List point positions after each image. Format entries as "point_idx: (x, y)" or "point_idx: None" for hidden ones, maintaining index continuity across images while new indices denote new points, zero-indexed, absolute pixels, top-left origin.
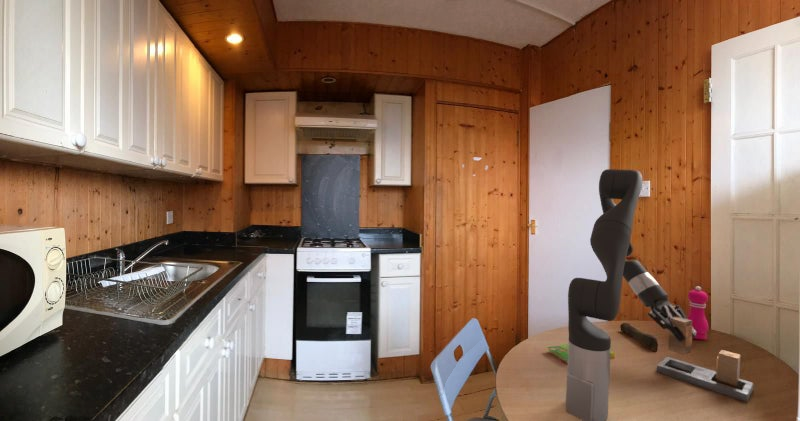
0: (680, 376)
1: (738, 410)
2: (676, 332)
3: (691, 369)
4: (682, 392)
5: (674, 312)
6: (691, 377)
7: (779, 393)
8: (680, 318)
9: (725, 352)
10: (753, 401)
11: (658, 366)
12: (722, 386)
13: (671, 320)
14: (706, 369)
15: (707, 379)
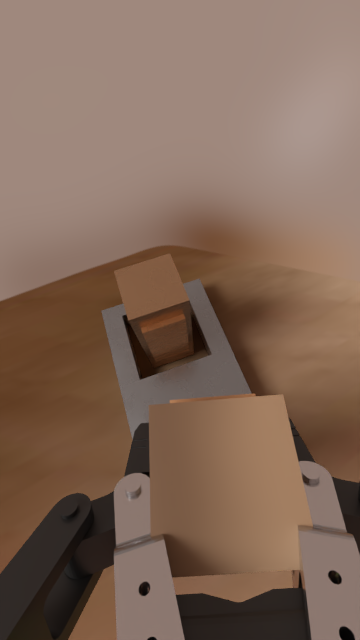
0: None
1: (263, 274)
2: (302, 445)
3: None
4: (332, 365)
5: (182, 631)
6: (248, 391)
7: (67, 293)
8: (200, 499)
9: (148, 298)
10: None
11: None
12: (217, 320)
13: (324, 523)
14: (134, 410)
15: (215, 360)
